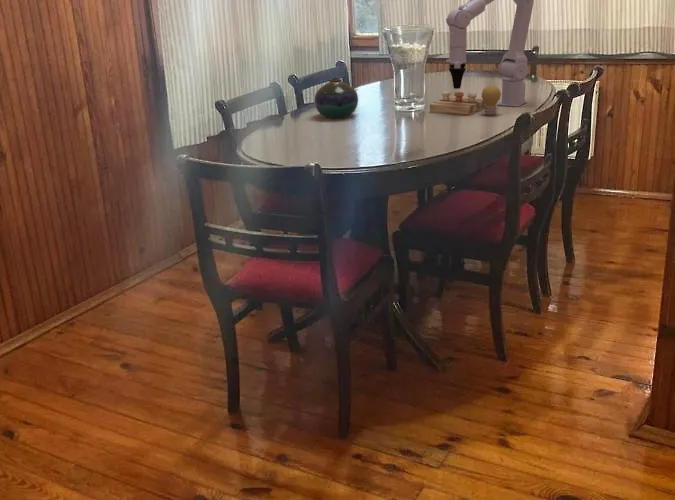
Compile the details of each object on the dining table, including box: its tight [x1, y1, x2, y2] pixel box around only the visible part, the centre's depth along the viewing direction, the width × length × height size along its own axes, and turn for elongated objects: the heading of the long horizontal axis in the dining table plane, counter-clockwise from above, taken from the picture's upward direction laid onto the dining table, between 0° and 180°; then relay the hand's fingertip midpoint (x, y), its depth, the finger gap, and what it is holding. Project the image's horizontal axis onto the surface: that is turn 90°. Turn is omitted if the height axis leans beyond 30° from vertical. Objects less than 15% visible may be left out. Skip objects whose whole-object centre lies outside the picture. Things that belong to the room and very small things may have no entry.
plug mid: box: [453, 91, 465, 102], centre depth 263 cm, size 3×3×3 cm
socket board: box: [429, 95, 486, 117], centre depth 264 cm, size 16×15×3 cm
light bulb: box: [481, 84, 502, 116], centre depth 253 cm, size 6×6×10 cm
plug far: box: [441, 90, 452, 101], centre depth 266 cm, size 3×3×3 cm
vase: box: [314, 77, 359, 119], centre depth 260 cm, size 15×15×13 cm
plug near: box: [467, 92, 478, 103], centre depth 260 cm, size 3×3×3 cm
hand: (457, 86), depth 258 cm, fingers open, 7 cm apart
